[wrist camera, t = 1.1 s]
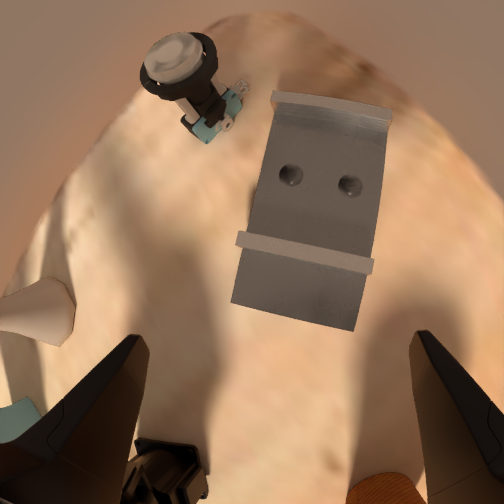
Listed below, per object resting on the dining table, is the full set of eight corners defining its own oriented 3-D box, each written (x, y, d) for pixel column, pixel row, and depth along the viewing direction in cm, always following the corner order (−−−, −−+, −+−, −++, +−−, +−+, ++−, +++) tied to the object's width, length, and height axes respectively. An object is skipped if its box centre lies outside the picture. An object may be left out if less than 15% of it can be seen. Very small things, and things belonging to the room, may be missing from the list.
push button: (228, 78, 26) (189, 5, 16) (271, 104, 24) (243, 24, 15) (179, 128, 26) (119, 68, 16) (218, 159, 25) (162, 97, 15)
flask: (48, 264, 28) (-25, 257, 19) (85, 305, 27) (4, 309, 17) (30, 316, 29) (-38, 319, 19) (63, 358, 27) (-10, 374, 17)
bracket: (351, 329, 21) (356, 336, 18) (234, 301, 24) (221, 304, 20) (385, 128, 22) (392, 109, 19) (279, 110, 24) (272, 90, 21)
